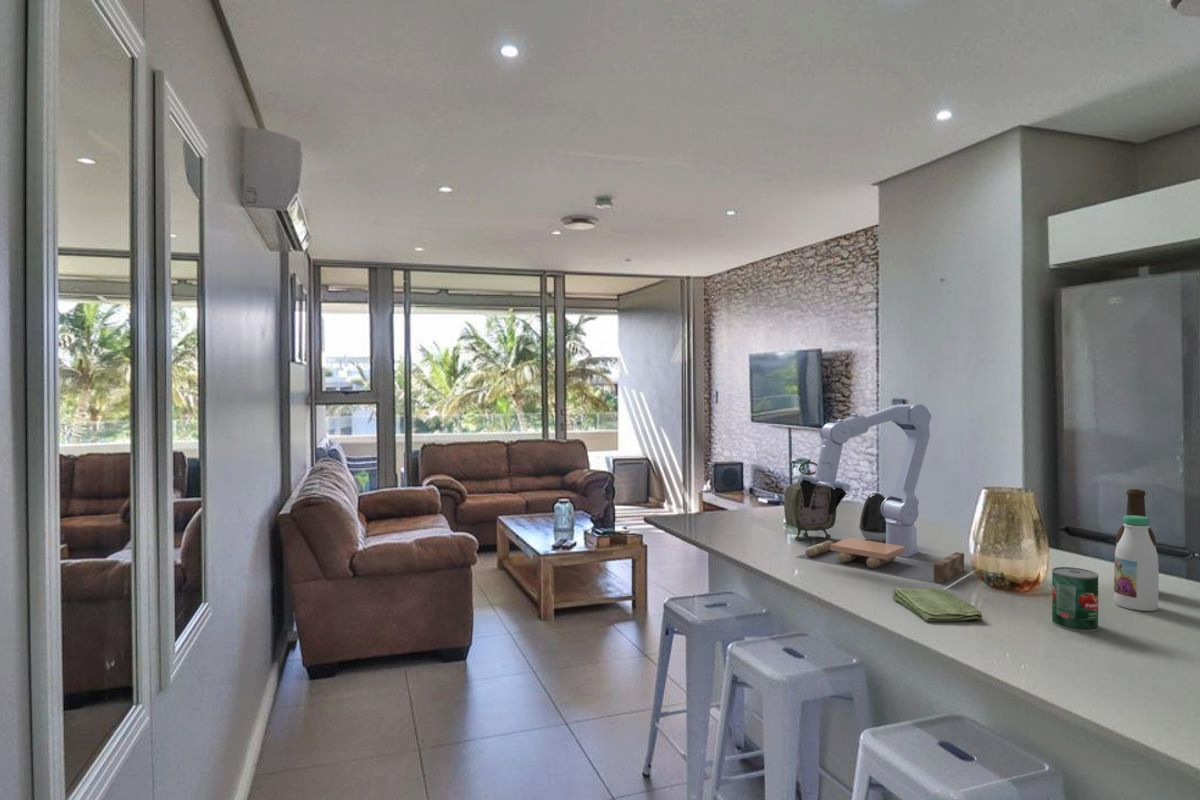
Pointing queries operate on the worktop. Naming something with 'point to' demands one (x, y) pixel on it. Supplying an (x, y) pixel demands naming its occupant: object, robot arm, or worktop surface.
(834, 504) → the robot arm
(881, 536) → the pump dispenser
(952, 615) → the washcloth
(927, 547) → the worktop surface
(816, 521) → the tabletop clock
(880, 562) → the roller front
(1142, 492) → the beer bottle
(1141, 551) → the milk bottle
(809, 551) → the roller
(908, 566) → the mat
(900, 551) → the slab
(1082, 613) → the canned tomato
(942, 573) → the bar
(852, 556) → the roller rear
